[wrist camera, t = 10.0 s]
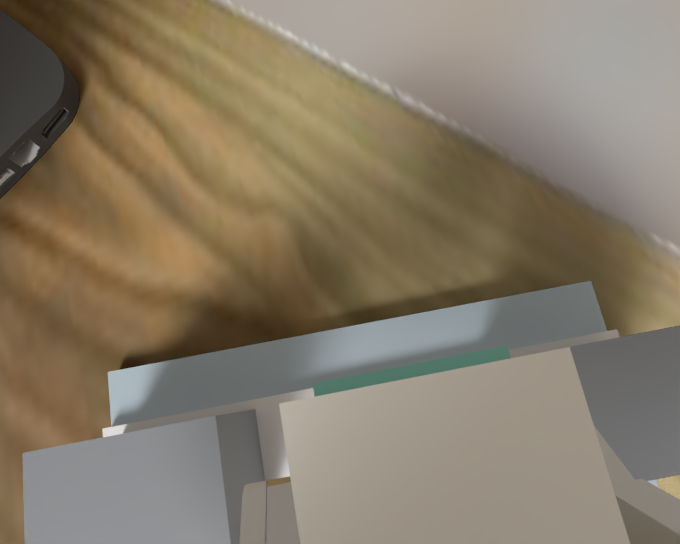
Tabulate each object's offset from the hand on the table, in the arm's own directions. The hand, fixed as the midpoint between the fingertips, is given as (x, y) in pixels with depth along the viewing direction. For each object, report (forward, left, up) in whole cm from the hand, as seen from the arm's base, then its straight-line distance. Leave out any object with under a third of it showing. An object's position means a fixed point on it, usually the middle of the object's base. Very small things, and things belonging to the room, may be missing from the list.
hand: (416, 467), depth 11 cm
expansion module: (+1, 0, -5) cm, 5 cm away
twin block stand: (0, 0, -17) cm, 17 cm away
